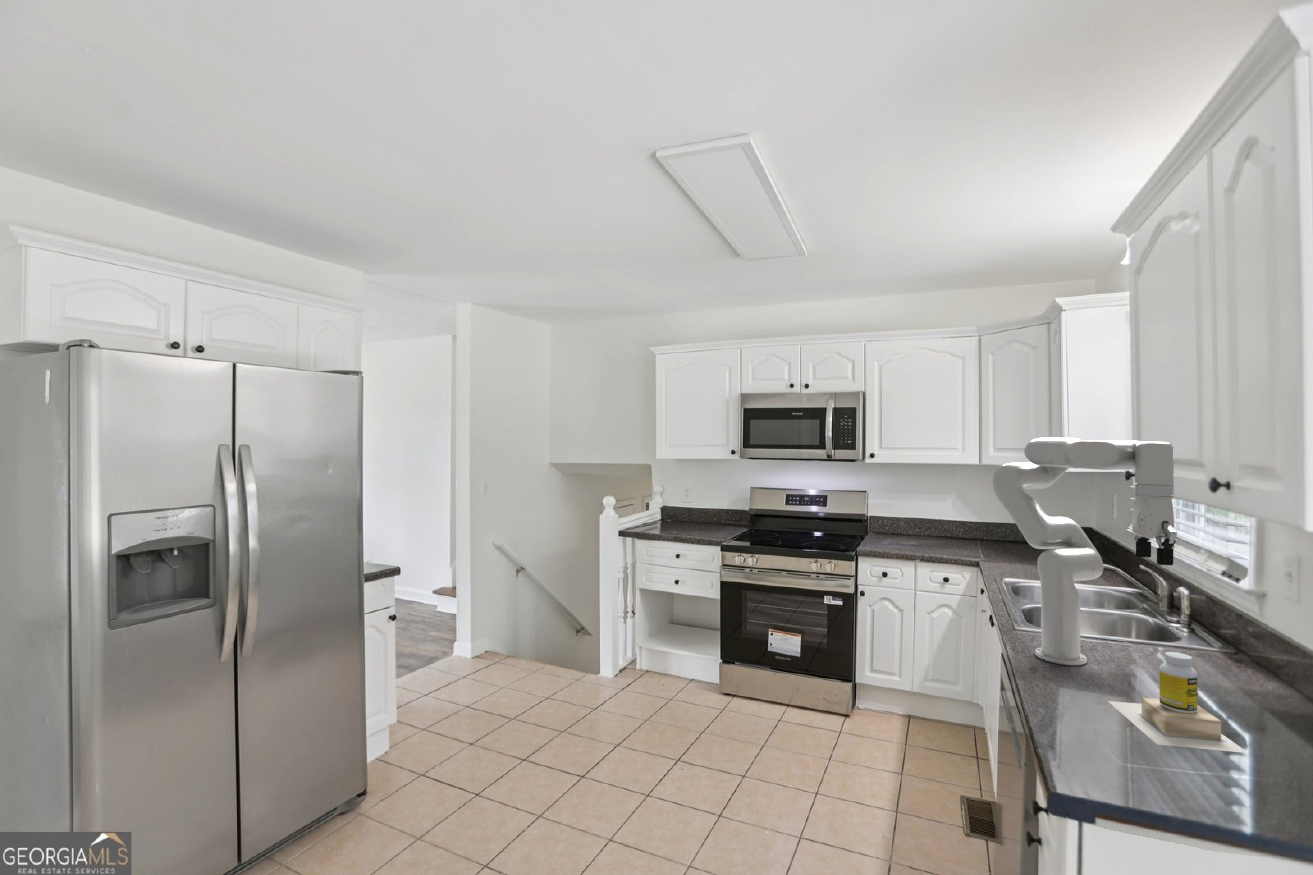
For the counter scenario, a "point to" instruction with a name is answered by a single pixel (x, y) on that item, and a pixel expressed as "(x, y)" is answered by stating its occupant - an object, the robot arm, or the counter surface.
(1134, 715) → the off-white paper sheet
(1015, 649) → the counter surface
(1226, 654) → the counter surface
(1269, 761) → the counter surface
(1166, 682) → the pill bottle
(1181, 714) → the pedestal block
